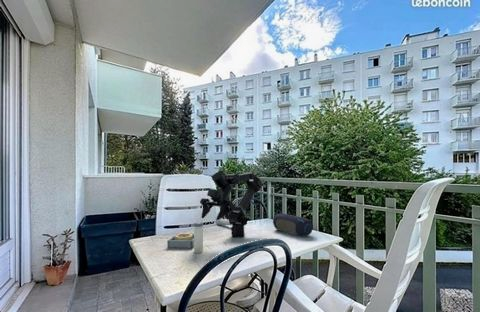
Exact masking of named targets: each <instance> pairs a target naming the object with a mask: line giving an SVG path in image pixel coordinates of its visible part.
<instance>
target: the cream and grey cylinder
mask: <svg viewBox="0 0 480 312" xmlns="http://www.w3.org/2000/svg"><path fill="white" fill-rule="evenodd" d="M193 234H194V247H193V253H195V254H201V253H203V252H204V222H198V221H197V222H193Z"/></svg>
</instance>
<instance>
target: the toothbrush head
mask: <svg viewBox="0 0 480 312" xmlns="http://www.w3.org/2000/svg"><path fill="white" fill-rule="evenodd" d="M215 223H216V225H219V226H232V225H233V224H230V223H229V219H225V218H224V217H222V218H221V219H219V220H217V219H216V221H215Z"/></svg>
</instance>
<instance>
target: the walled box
mask: <svg viewBox="0 0 480 312" xmlns="http://www.w3.org/2000/svg"><path fill="white" fill-rule="evenodd" d="M166 249H186V250H188V249H192V250H193V249H194V233H193V234H192V233H188V232H186V233H184V232H183V233H177V234H174V235H173V236H171V238H169V239H168V240H167V248H166Z"/></svg>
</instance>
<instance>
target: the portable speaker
mask: <svg viewBox="0 0 480 312" xmlns="http://www.w3.org/2000/svg"><path fill="white" fill-rule="evenodd" d="M272 224H273V227H274V229H276V230H277V231H281V232H284V233H288V234H292V235H295V236H299V237H307V236H309V235H311V233H312V232H313V229H314V225H313V222H312V221H311V220H310V219H308V218H306V217H303V216H298V215H294V214H293V215H291V214H287V213H280V212H279V213H277V214H275V215H274V216H273V219H272Z"/></svg>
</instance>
